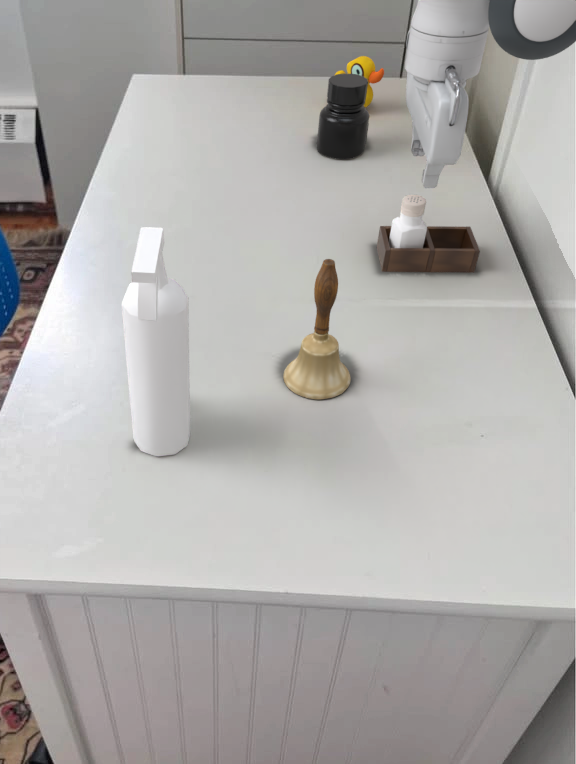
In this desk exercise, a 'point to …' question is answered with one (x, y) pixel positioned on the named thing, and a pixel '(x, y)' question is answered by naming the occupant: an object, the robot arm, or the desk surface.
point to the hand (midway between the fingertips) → (422, 169)
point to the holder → (431, 251)
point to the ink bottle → (344, 117)
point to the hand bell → (319, 347)
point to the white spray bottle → (157, 350)
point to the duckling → (365, 74)
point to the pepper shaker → (409, 224)
